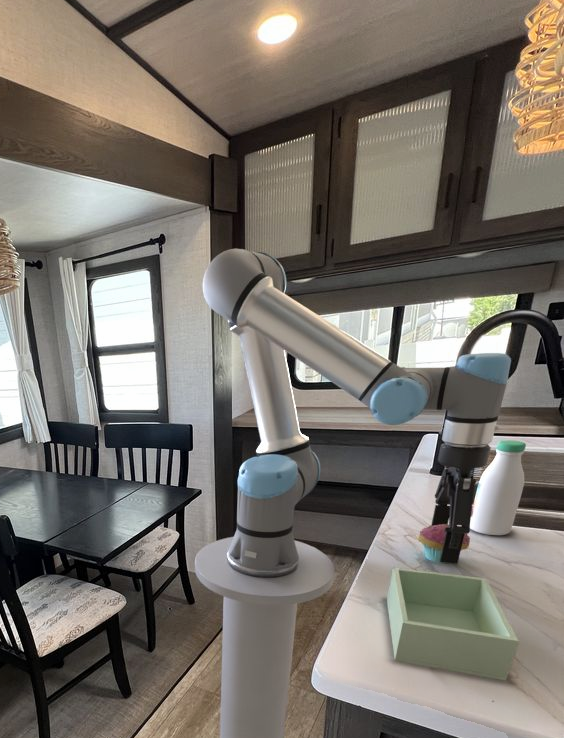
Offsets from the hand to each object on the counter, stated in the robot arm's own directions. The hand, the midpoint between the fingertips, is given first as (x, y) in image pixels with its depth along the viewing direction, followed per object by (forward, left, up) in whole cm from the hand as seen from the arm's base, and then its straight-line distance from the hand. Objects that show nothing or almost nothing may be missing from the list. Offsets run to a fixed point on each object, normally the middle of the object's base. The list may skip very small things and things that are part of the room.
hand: (442, 547), depth 94 cm
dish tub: (+29, -4, -3) cm, 29 cm away
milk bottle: (-19, +12, -3) cm, 23 cm away
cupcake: (0, 0, -3) cm, 3 cm away
